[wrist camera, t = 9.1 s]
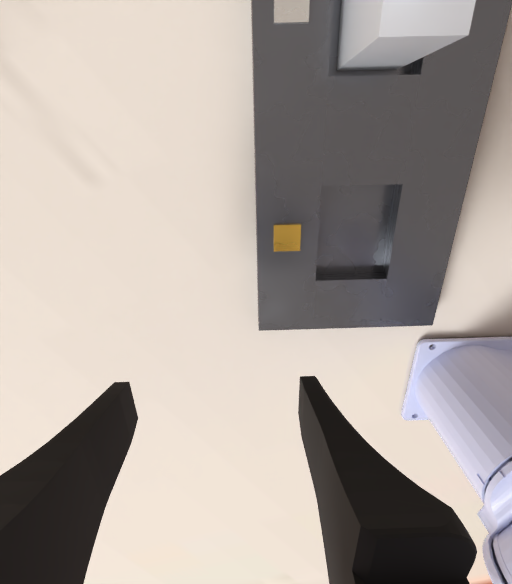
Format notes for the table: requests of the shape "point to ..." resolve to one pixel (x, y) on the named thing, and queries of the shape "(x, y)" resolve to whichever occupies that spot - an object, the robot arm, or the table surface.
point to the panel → (360, 168)
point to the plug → (398, 31)
